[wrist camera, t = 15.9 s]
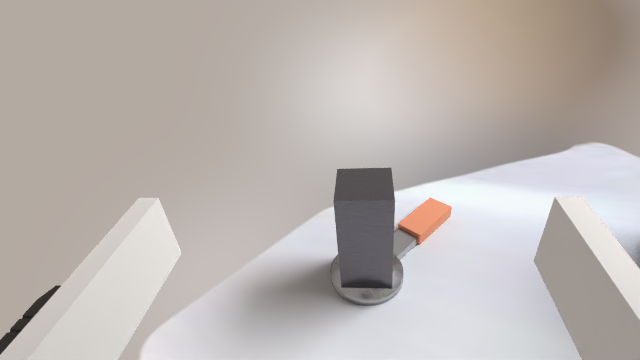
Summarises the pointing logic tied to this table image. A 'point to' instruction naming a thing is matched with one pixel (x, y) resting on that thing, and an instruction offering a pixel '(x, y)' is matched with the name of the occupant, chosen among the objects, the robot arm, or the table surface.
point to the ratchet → (397, 252)
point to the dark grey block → (365, 227)
